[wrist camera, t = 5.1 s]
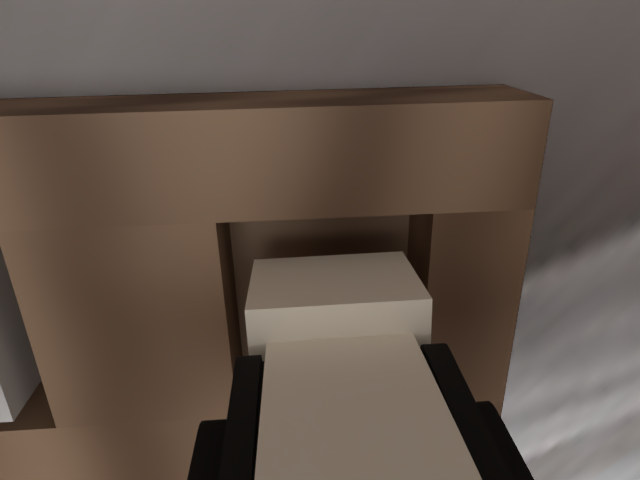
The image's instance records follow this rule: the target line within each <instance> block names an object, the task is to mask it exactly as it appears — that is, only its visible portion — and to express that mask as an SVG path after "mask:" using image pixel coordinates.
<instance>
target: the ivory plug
mask: <svg viewBox="0 0 640 480" xmlns="http://www.w3.org/2000/svg"><path fill="white" fill-rule="evenodd" d="M245 321H246V331H247V342H248V352H249V355H261V356H262V361H265V363H264V375H263V387H262V398H261V410H260V421H259V433H258V445H257V456H256V468H255V479H254V480H482V478H481V476H480V474H479V472H478V470H477V468H476V466H475V463H474V461H473V459H472V457H471V455H470V453H469V451H468V449H467V446H466V444H465V442H464V440H463V438H462V436H461V434H460V432H459V429H458V427H457V425H456V423H455V421H454V419H453V417H452V415H451V413H450V410H449V408H448V406H447V404H446V402H445V400H444V398H443V396H442V393H441V391H440V389H439V387H438V385H437V383H436V381H435V379H434V377H433V374H432V372H431V370H430V368H429V366H428V364H427V362H426V360H425V357H424V355H423V353H422V351H421V349H420V346H421V345H422V344H431V325H432V297H431V296H430V294H429V293H428V291H427V289H426V288H425V286H424V285H423V283H422V282H421V280H420V278H419V277H418V275H417V274H416V272H415V270H414V269H413V267H412V266H411V264H410V262H409V261H408V259H407V258H406V256H405V254H404V253H403V251H399V252H381V253H363V254H345V255H327V256H309V257H291V258H273V259H255V260H254V263H253V268H252V273H251V278H250V284H249V289H248V294H247V300H246V305H245Z"/></svg>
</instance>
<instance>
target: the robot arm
mask: <svg viewBox="0 0 640 480" xmlns="http://www.w3.org/2000/svg"><path fill="white" fill-rule="evenodd" d="M420 349H421V351H422V353H423V355H424V357H425V360H426V362H427V364H428V366H429V368H430V370H431V372H432V374H433V377H434V379H435V381H436V383H437V385H438V387H439V389H440V391H441V393H442V396H443V398H444V400H445V402H446V404H447V406H448V408H449V410H450V413H451V415H452V417H453V419H454V421H455V423H456V425H457V427H458V429H459V432H460V434H461V436H462V438H463V440H464V442H465V444H466V446H467V449H468V451H469V453H470V455H471V457H472V459H473V461H474V463H475V466H476V468H477V470H478V472H479V474H480V476H481V478H482V480H534V479H533V477H532V475H531V473H530V471H529V469H528V467H527V466H526V464H525V462H524V460H523V458H522V456H521V454H520V453H519V451H518V449H517V447H516V445H515V443H514V441H513V439H512V438H511V436H510V434H509V432H508V430H507V428H506V426H505V424H504V423H503V421H502V419H501V417H500V415H499V413H498V411H497V410H496V408H495V406H494V405H493V403H491V402H490V401H480V402H476V401H475V399H474V397H473V395H472V393H471V391H470V389H469V387H468V385H467V383H466V381H465V379H464V377H463V375H462V373H461V371H460V369H459V367H458V365H457V363H456V360H455V358H454V356H453V354H452V352H451V350H450V348H449V346H448V345H447V344H446V343H437V344H422V345H421V346H420ZM264 363H265V361H262V356H261V355H249V356H237V357H236V360H235V366H234V373H233V380H232V387H231V393H230V400H229V407H228V413H227V419H220V420H205V421H201V422H200V424H199V427H198V431H197V436H196V441H195V445H194V450H193V455H192V459H191V464H190V469H189V473H188V478H187V480H254V479H255V468H256V456H257V445H258V433H259V421H260V410H261V398H262V387H263V375H264Z"/></svg>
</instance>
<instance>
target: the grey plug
mask: <svg viewBox="0 0 640 480" xmlns="http://www.w3.org/2000/svg"><path fill="white" fill-rule="evenodd" d="M40 382H41V377H40V373H39V370H38V367H37V364H36V360H35V357H34V354H33V351H32V347H31V344H30V341H29V338H28V334H27V331H26V328H25V325H24V321H23V318H22V315H21V312H20V308H19V305H18V302H17V299H16V295H15V292H14V289H13V286H12V282H11V279H10V276H9V273H8V269H7V266H6V263H5V260H4V256H3V253H2V250H1V247H0V422H14V420H15V419H16V417H17V416H18V414H19V413H20V411H21V410H22V408H23V407H24V405H25V404H26V402H27V401H28V399H29V398H30V396H31V395H32V393H33V392H34V390H35V389H36V387H37V386H38V384H39V383H40Z"/></svg>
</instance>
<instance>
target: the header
mask: <svg viewBox="0 0 640 480" xmlns="http://www.w3.org/2000/svg"><path fill="white" fill-rule="evenodd" d="M552 105H553V99H549V98H546V97H543V96H540V95H536V94H533V93H530V92H526V91H523V90H520V89H517V88H513V87H510V86H507V85H468V86H433V87H398V88H362V89H327V90H292V91H257V92H222V93H187V94H151V95H116V96H81V97H46V98H11V99H0V247H1V250H2V253H3V256H4V260H5V263H6V266H7V269H8V273H9V276H10V279H11V282H12V286H13V289H14V292H15V295H16V299H17V302H18V305H19V308H20V312H21V315H22V318H23V321H24V325H25V328H26V331H27V334H28V338H29V341H30V344H31V347H32V351H33V354H34V357H35V360H36V364H37V367H38V370H39V373H40V377H41V382H40V383H39V384H38V386H37V387H36V389H35V390H34V392H33V393H32V395H31V396H30V398H29V399H28V401H27V402H26V404H25V405H24V407H23V408H22V410H21V411H20V413H19V414H18V416H17V417H16V419H15V420H14V422H0V480H187V478H188V473H189V469H190V464H191V459H192V455H193V450H194V445H195V441H196V436H197V431H198V427H199V424H200V422H201V421H205V420H220V419H227V413H228V407H229V400H230V393H231V387H232V380H233V373H234V366H235V360H236V357H237V356H249V352H248V342H247V331H246V321H245V305H246V300H247V294H248V289H249V284H250V278H251V273H252V268H253V263H254V260H255V259H273V258H291V257H309V256H327V255H345V254H363V253H381V252H399V251H403V253H404V254H405V256H406V258H407V259H408V261H409V262H410V264H411V266H412V267H413V269H414V270H415V272H416V274H417V275H418V277H419V278H420V280H421V282H422V283H423V285H424V286H425V288H426V289H427V291H428V293H429V294H430V296H431V297H432V325H431V344H437V343H446V344H447V345H448V346H449V348H450V350H451V352H452V354H453V356H454V358H455V360H456V363H457V365H458V367H459V369H460V371H461V373H462V375H463V377H464V379H465V381H466V383H467V385H468V387H469V389H470V391H471V393H472V395H473V397H474V399H475V401H476V402H480V401H490V402H491V403H493V405H494V406H495V408H496V410H497V411H498V413H499V415H500V417H501V412H502V406H503V400H504V394H505V388H506V382H507V376H508V370H509V364H510V358H511V352H512V346H513V340H514V334H515V328H516V322H517V316H518V310H519V304H520V298H521V292H522V286H523V280H524V274H525V268H526V262H527V256H528V250H529V244H530V238H531V232H532V226H533V220H534V214H535V208H536V202H537V196H538V190H539V184H540V178H541V172H542V166H543V160H544V154H545V148H546V142H547V135H548V129H549V123H550V117H551V111H552Z"/></svg>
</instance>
